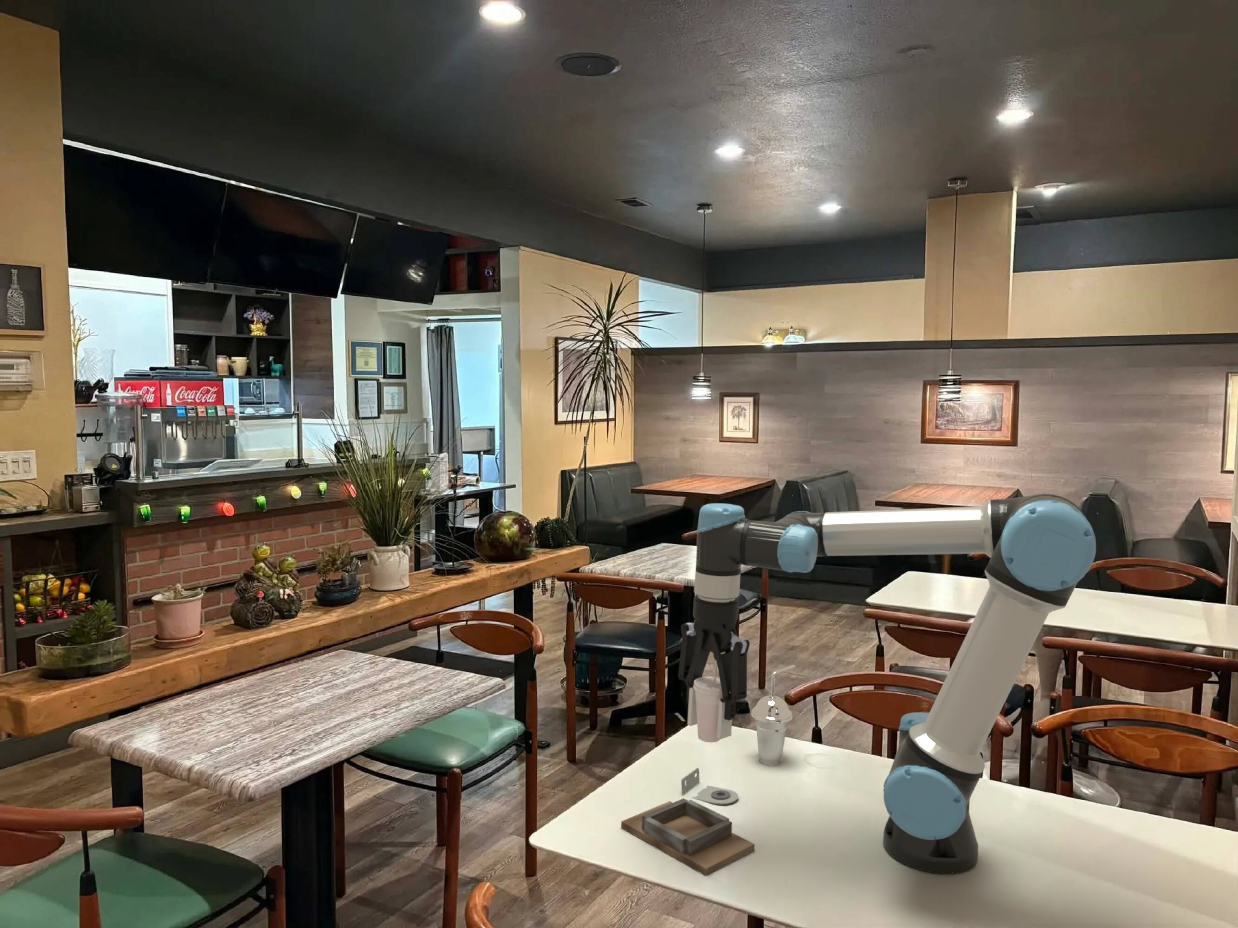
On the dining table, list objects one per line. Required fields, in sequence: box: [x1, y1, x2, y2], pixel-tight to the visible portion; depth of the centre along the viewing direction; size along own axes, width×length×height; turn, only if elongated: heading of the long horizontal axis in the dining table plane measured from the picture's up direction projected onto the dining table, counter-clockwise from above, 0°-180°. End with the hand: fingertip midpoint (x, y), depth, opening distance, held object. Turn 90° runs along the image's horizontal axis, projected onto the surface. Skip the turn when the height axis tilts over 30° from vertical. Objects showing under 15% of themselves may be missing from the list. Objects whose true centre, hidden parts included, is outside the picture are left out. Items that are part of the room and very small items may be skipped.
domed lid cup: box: [751, 664, 796, 767], centre depth 186 cm, size 8×9×20 cm
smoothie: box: [693, 658, 723, 743], centre depth 152 cm, size 6×6×14 cm
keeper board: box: [620, 798, 756, 877], centre depth 154 cm, size 20×12×4 cm, turn 42°
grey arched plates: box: [680, 767, 739, 805], centre depth 171 cm, size 7×10×4 cm, turn 57°
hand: (709, 729), depth 152 cm, fingers closed on smoothie, 6 cm apart
